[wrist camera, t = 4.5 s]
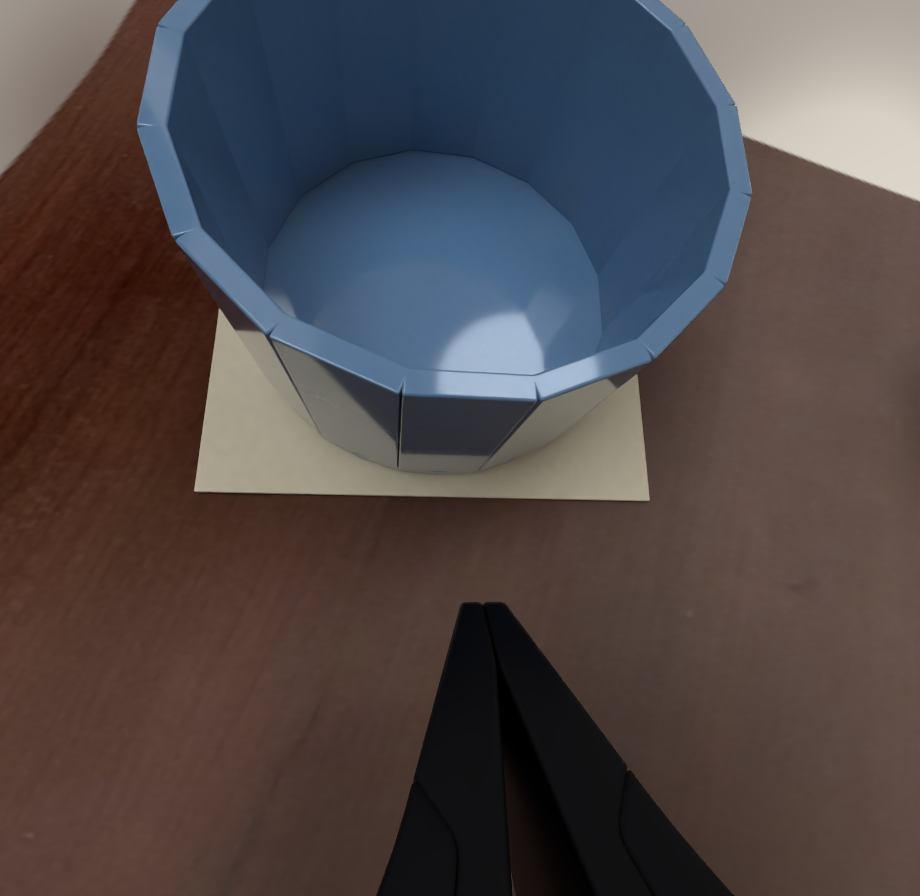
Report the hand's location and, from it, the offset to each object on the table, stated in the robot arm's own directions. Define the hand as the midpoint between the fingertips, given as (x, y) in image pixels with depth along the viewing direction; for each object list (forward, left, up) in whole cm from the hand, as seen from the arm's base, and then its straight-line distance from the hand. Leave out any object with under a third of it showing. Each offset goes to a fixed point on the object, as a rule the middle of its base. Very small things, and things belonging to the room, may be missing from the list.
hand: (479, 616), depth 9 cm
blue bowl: (+12, +4, -10) cm, 17 cm away
